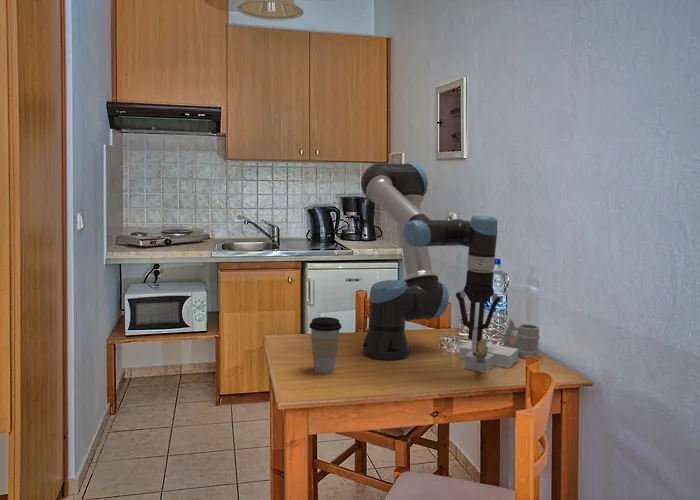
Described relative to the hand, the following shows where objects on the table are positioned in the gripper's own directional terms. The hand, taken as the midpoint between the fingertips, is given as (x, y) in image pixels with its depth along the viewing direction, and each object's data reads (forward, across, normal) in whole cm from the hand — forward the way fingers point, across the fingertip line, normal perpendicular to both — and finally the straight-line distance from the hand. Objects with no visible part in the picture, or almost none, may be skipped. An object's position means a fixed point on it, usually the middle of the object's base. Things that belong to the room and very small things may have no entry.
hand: (473, 350), depth 184 cm
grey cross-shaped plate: (+8, +3, +19) cm, 21 cm away
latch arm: (+4, +1, +5) cm, 7 cm away
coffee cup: (+9, -42, -11) cm, 44 cm away
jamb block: (+8, +1, +10) cm, 13 cm away
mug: (+8, +12, +29) cm, 33 cm away
